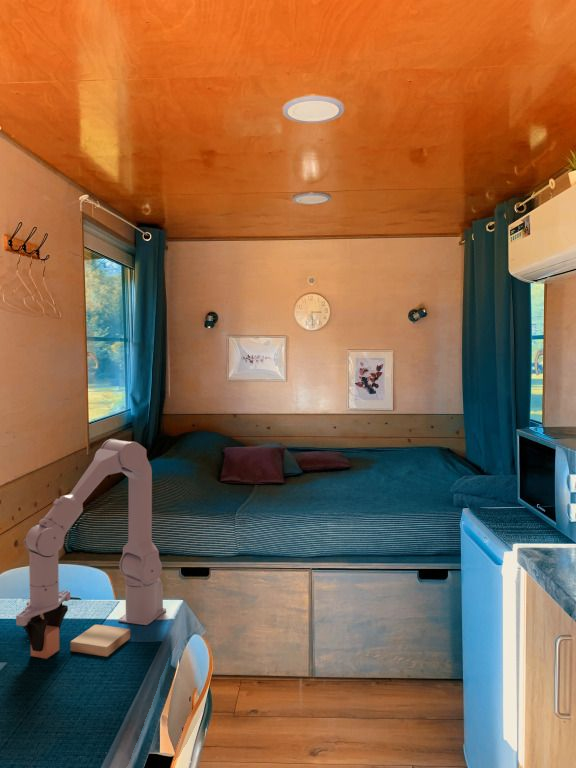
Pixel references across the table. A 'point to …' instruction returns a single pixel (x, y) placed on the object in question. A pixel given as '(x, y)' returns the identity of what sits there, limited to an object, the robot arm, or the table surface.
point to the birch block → (100, 640)
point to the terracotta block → (48, 643)
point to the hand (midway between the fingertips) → (45, 645)
